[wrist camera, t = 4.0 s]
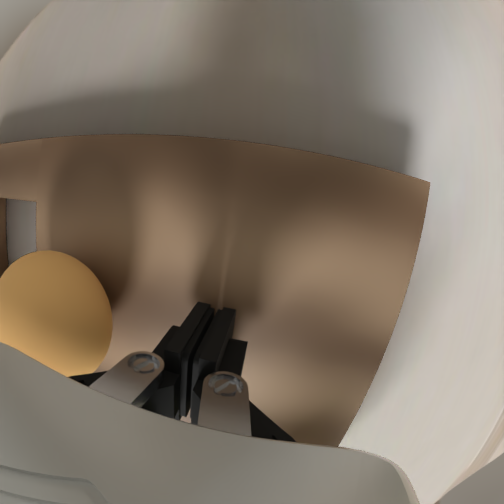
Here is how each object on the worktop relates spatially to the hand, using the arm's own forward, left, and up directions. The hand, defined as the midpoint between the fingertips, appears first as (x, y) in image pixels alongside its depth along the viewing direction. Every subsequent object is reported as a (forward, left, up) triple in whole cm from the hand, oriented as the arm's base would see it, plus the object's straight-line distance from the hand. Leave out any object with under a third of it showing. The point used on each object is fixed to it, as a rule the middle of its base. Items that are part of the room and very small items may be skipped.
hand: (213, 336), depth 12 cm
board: (0, +7, -4) cm, 8 cm away
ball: (0, +7, +2) cm, 7 cm away
